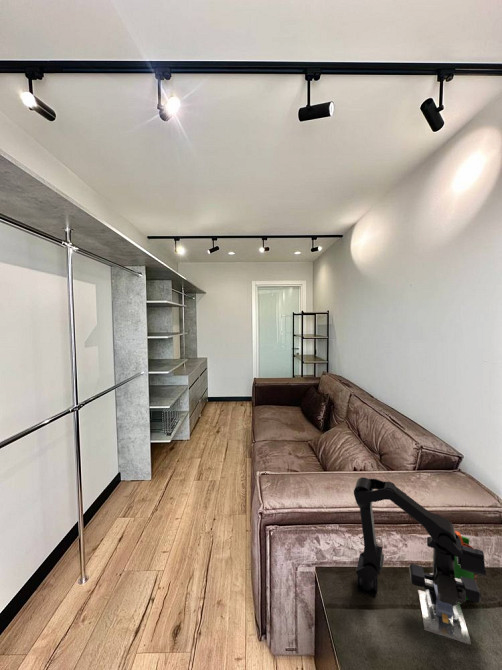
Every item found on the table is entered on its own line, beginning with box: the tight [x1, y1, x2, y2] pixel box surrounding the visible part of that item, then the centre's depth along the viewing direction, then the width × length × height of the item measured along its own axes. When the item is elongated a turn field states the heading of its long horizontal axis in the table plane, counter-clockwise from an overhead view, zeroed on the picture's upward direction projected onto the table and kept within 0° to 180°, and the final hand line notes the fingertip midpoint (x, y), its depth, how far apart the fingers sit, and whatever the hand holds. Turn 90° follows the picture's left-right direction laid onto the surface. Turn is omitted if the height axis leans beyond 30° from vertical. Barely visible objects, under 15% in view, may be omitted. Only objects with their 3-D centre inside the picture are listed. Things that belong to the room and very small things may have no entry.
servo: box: [433, 584, 454, 623], centre depth 97 cm, size 4×10×5 cm, turn 158°
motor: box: [454, 530, 478, 602], centre depth 106 cm, size 10×9×20 cm
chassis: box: [417, 589, 472, 645], centre depth 97 cm, size 12×13×4 cm
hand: (442, 605), depth 97 cm, fingers closed on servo, 4 cm apart
